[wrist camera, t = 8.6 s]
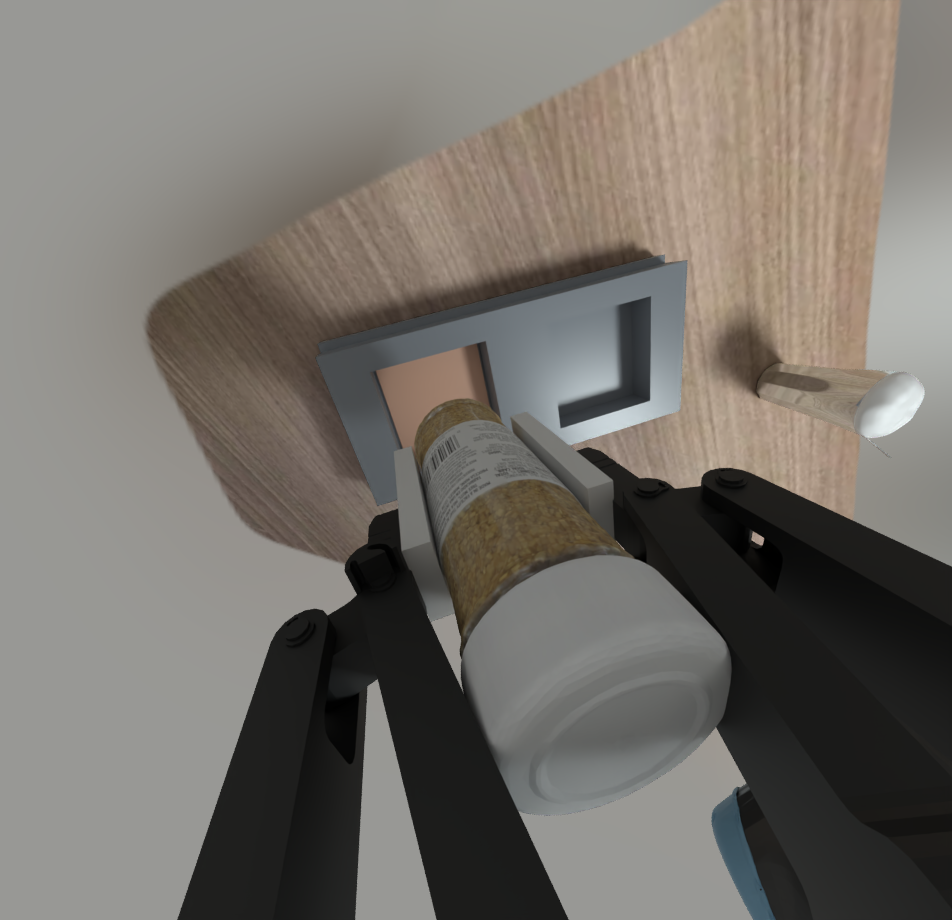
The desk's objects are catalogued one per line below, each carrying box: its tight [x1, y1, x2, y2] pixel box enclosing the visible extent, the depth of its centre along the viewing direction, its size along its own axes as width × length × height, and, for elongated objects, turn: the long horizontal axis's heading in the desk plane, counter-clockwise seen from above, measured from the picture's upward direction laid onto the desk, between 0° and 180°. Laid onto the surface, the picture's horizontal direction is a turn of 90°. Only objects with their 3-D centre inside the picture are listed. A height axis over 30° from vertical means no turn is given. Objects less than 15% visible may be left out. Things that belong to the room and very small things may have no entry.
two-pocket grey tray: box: [315, 255, 687, 506], centre depth 24 cm, size 11×23×3 cm, turn 103°
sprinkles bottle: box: [414, 398, 732, 816], centre depth 11 cm, size 5×4×13 cm
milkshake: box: [756, 363, 925, 458], centre depth 27 cm, size 4×5×10 cm
